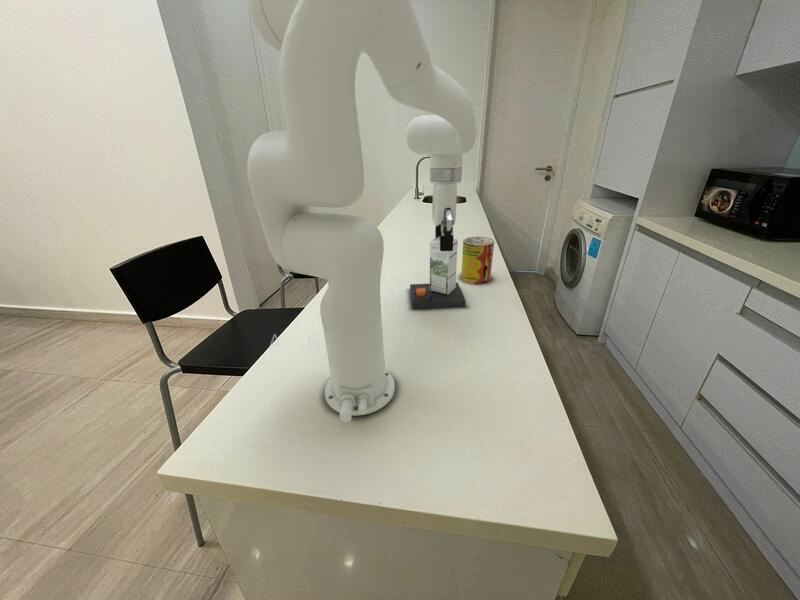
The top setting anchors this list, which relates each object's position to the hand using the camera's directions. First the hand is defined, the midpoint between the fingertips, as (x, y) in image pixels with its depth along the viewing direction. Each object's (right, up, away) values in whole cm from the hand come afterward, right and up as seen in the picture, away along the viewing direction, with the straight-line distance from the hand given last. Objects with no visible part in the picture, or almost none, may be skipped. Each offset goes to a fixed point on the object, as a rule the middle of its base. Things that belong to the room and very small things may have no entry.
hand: (443, 244), depth 87 cm
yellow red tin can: (+12, -8, +17) cm, 23 cm away
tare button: (-6, -13, +1) cm, 14 cm away
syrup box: (+1, -12, +6) cm, 13 cm away
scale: (-1, -14, +6) cm, 15 cm away
